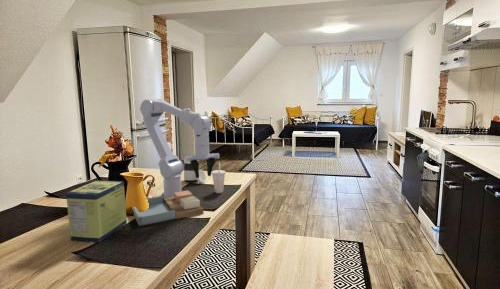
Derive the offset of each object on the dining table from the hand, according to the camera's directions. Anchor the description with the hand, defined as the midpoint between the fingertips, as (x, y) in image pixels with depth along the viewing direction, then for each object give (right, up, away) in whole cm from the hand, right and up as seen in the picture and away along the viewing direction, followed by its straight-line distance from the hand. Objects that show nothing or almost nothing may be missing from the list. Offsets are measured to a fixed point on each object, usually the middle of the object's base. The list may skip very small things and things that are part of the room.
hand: (203, 176), depth 134 cm
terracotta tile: (-8, -9, -3) cm, 12 cm away
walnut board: (-7, -12, -7) cm, 16 cm away
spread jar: (-9, -6, +31) cm, 33 cm away
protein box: (-30, -16, -28) cm, 44 cm away
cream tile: (-4, -10, -11) cm, 15 cm away
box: (-18, -13, -13) cm, 25 cm away
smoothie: (+5, -9, +13) cm, 16 cm away
